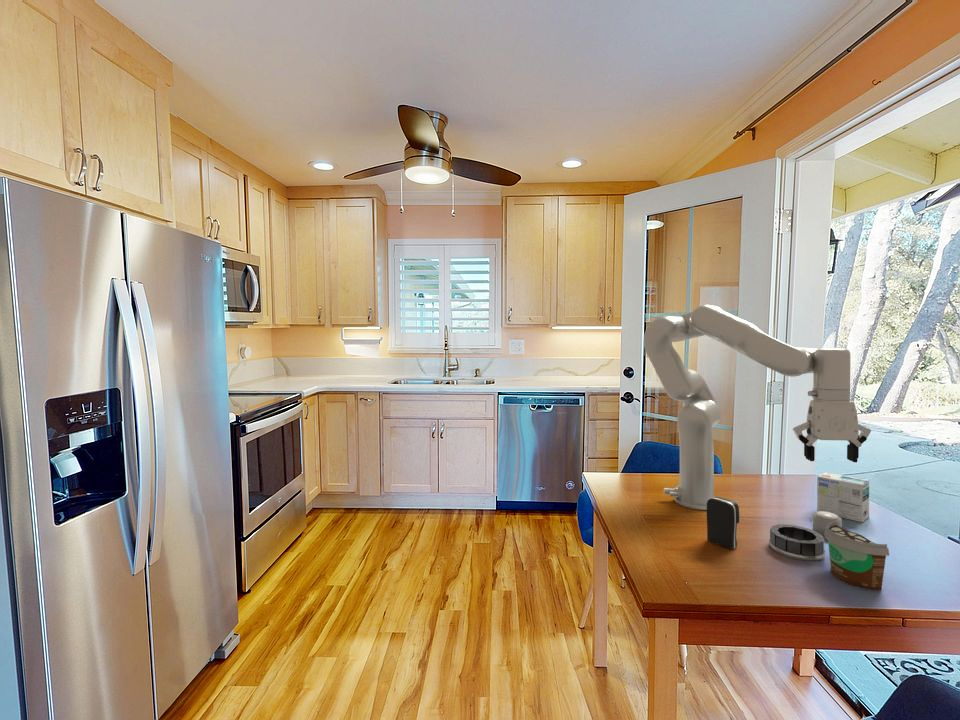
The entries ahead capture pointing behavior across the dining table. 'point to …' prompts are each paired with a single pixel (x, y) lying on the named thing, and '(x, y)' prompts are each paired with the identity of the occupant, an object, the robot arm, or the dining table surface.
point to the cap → (824, 521)
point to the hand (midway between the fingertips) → (830, 460)
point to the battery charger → (722, 521)
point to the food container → (855, 558)
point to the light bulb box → (843, 496)
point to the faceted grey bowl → (797, 542)
